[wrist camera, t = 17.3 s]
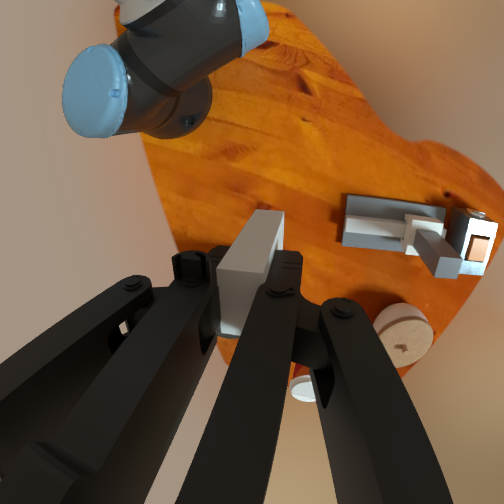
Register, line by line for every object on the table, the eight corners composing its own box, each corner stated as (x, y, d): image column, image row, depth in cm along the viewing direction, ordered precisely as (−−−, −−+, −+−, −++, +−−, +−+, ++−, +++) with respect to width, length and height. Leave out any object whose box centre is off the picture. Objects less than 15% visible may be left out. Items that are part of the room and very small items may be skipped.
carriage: (405, 212, 41) (436, 245, 29) (434, 216, 40) (471, 249, 28) (399, 244, 44) (424, 286, 31) (427, 247, 42) (458, 288, 30)
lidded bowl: (356, 311, 53) (362, 348, 43) (410, 281, 48) (426, 315, 38) (379, 346, 56) (386, 383, 46) (427, 321, 51) (442, 355, 41)
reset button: (464, 229, 38) (474, 238, 34) (479, 232, 37) (490, 240, 33) (458, 250, 39) (468, 260, 36) (474, 252, 39) (483, 261, 35)
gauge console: (453, 202, 39) (471, 214, 33) (480, 207, 38) (498, 220, 32) (441, 255, 44) (455, 273, 38) (467, 258, 43) (482, 275, 37)
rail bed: (346, 193, 44) (349, 198, 41) (443, 207, 40) (450, 212, 38) (341, 243, 48) (342, 250, 45) (433, 252, 44) (439, 259, 42)
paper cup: (336, 341, 57) (337, 390, 45) (314, 359, 61) (311, 407, 48) (309, 324, 57) (305, 374, 44) (288, 344, 60) (280, 393, 48)
